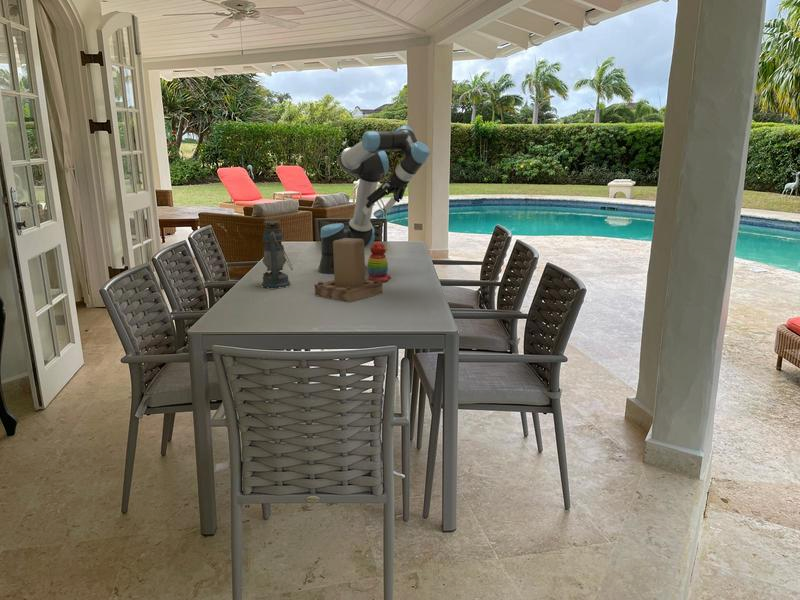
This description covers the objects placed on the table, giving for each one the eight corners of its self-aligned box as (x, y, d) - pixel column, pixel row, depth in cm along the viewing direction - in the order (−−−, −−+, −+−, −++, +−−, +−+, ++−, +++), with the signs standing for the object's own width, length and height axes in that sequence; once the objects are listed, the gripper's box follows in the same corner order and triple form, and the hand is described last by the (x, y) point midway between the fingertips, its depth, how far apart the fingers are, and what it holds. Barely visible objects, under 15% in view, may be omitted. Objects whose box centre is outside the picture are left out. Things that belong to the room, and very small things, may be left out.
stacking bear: (386, 282, 275) (386, 244, 270) (365, 282, 277) (364, 243, 272) (391, 278, 285) (391, 240, 281) (371, 277, 287) (370, 240, 283)
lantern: (262, 281, 280) (257, 217, 273) (293, 280, 283) (289, 216, 275) (261, 291, 261) (256, 221, 254) (294, 289, 264) (290, 220, 257)
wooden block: (366, 285, 255) (365, 238, 251) (354, 290, 247) (353, 241, 242) (345, 283, 259) (344, 237, 255) (333, 288, 251) (331, 240, 246)
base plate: (315, 295, 252) (314, 282, 251) (348, 286, 267) (348, 274, 266) (349, 302, 240) (348, 288, 239) (382, 292, 255) (382, 280, 253)
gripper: (387, 183, 233) (360, 220, 246) (426, 180, 252) (399, 214, 265) (376, 169, 235) (350, 206, 248) (416, 167, 254) (389, 202, 267)
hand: (375, 211), depth 256 cm, fingers open, 13 cm apart
